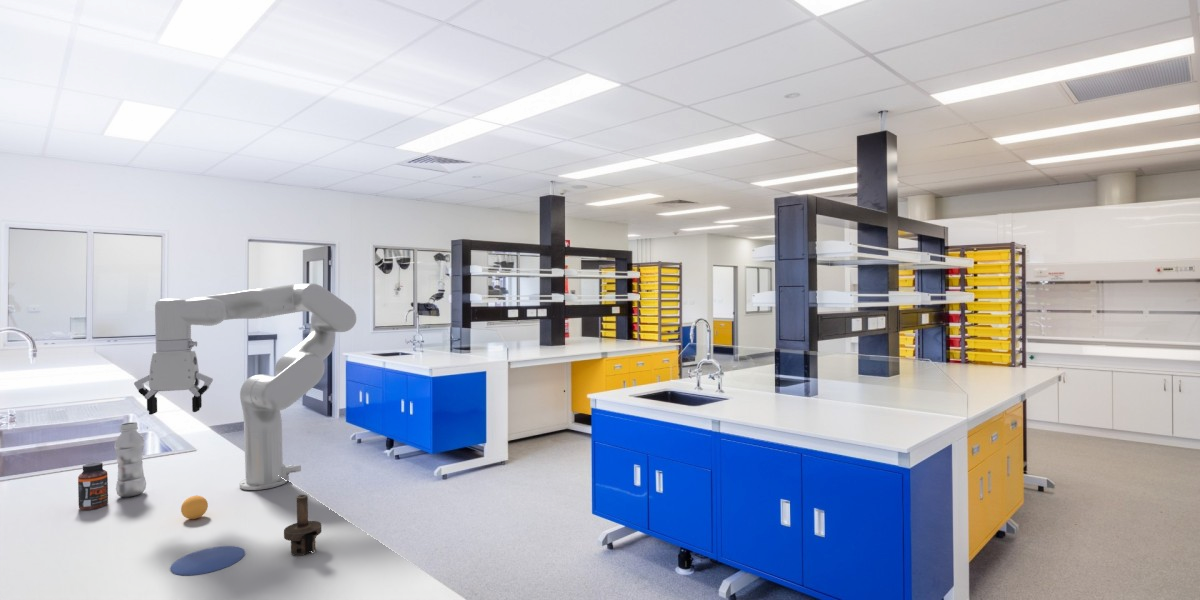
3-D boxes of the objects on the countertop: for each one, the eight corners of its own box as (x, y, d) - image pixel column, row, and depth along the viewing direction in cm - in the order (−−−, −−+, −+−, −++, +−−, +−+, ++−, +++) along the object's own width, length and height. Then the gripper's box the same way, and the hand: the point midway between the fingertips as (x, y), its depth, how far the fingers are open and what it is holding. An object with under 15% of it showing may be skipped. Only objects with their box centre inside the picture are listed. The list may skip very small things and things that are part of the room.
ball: (206, 512, 153) (205, 490, 153) (209, 518, 149) (209, 496, 149) (180, 518, 150) (179, 496, 150) (182, 524, 145) (182, 501, 145)
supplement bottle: (91, 511, 155) (89, 468, 155) (72, 510, 156) (71, 466, 156) (114, 503, 161) (112, 461, 160) (96, 502, 162) (94, 460, 162)
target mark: (238, 541, 135) (238, 540, 135) (250, 561, 125) (250, 560, 125) (167, 559, 127) (167, 558, 127) (174, 582, 117) (174, 581, 117)
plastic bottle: (152, 492, 169) (149, 421, 168) (126, 501, 162) (123, 427, 162) (136, 490, 171) (133, 420, 170) (110, 498, 164) (107, 425, 164)
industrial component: (327, 551, 129) (326, 496, 129) (291, 562, 124) (290, 505, 124) (311, 539, 136) (310, 486, 136) (276, 549, 131) (275, 494, 131)
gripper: (216, 344, 163) (217, 407, 163) (141, 346, 158) (142, 411, 158) (206, 346, 155) (207, 413, 156) (127, 348, 151) (128, 417, 151)
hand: (174, 412), depth 157 cm, fingers open, 9 cm apart
